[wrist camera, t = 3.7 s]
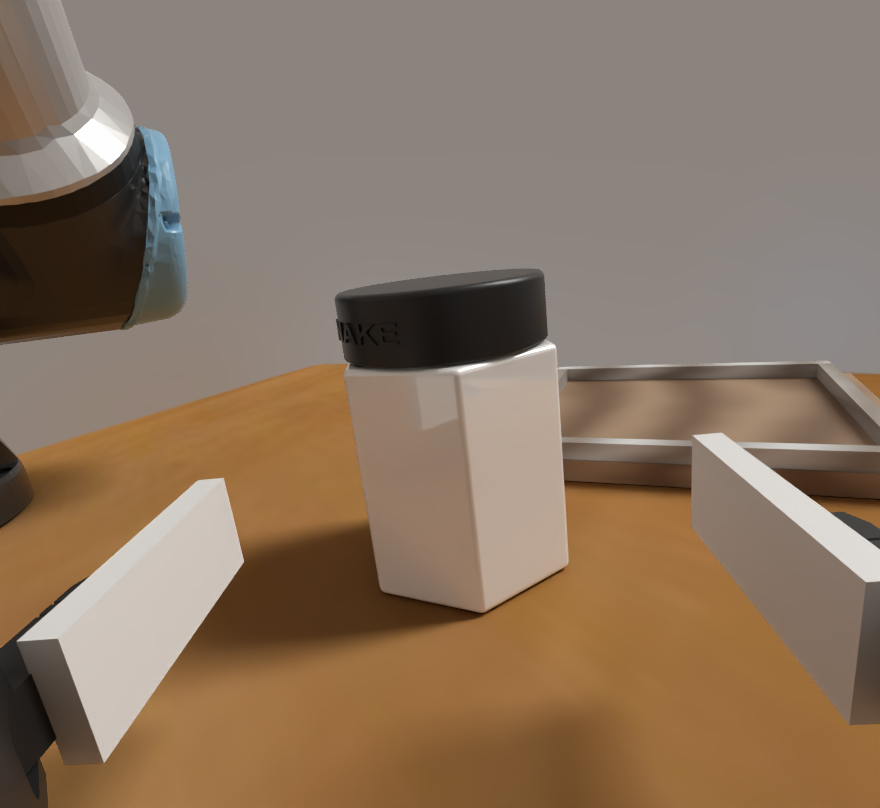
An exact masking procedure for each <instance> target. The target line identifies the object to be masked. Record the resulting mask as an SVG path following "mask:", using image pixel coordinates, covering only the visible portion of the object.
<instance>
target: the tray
mask: <svg viewBox="0 0 880 808" xmlns="http://www.w3.org/2000/svg"><path fill="white" fill-rule="evenodd" d="M558 385H559V402H560V420H561V437H562V455H563V472H564V480H566V481H583V482H600V483H617V484H634V485H651V486H668V487H685V488H692V435H701V434H711V433H723V434H724V435H725V436H727V437H728V438H730V439H731V440H732V441H734V442H735V443H736V444H738V445H739V446H740V447H742V448H743V449H744V450H746V451H747V452H749V453H750V454H751V455H753V456H754V457H755V458H757V459H758V460H759V461H761V462H762V463H763V464H765V465H766V466H767V467H769V468H770V469H772V470H773V471H774V472H776V473H777V474H778V475H780V476H781V477H782V478H784V479H785V480H786V481H788V482H789V483H790V484H792V485H793V486H795V487H796V488H797V489H799V490H800V491H801V492H803V493H804V494H805V495H821V496H838V497H855V498H872V499H880V399H879V398H878V397H876V396H875V395H874V394H873V393H872V392H871V391H870V390H869V389H867V388H866V387H865V386H864V385H863V384H862V383H861V382H860V381H858V380H857V379H856V378H855V377H854V376H853V375H852V374H850V373H841V372H840V371H839V370H838V369H837V368H836V367H835V366H834V365H833V364H831V363H830V362H829V361H799V362H798V361H796V362H756V363H755V362H754V363H710V364H669V365H668V364H667V365H626V366H625V365H624V366H582V367H559V369H558Z"/></svg>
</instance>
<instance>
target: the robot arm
mask: <svg viewBox="0 0 880 808" xmlns="http://www.w3.org/2000/svg"><path fill="white" fill-rule="evenodd" d="M180 219H181V218H180V212H179V200H178V193H177V187H176V181H175V174H174V169H173V164H172V159H171V154H170V150H169V146H168V144H167V141H166V139H165V137H164V136H163V134H161V133H160V132H158V131H155V130H148V129H147V128H144V127H141V126H139V127H136V128H135V124H134V121H133V118H132V114H131V111H130V110H129V108H128V106H127V104H126V103H125V101H124V99H123V98H122V97H121V95H120V94H119V93H118V92H116V91H115V89H113V88H112V87H111V86H110V85H108V84H107V83H105V82H104V81H103V80H101V79H99V78H98V77H96V76H94V75H92V74H90V73H89V72H87V71H85V70H84V67H83V64H82V62H81V59H80V55H79V53H78V50H77V47H76V44H75V41H74V38H73V35H72V32H71V29H70V27H69V24H68V21H67V18H66V15H65V12H64V9H63V6H62V3H61V0H0V345H3V344H11V343H18V342H26V341H33V340H41V339H49V338H57V337H64V336H72V335H80V334H87V333H95V332H103V331H110V330H117V329H122V330H126V329H129V328H132V327H133V326H134V325H138V324H143V323H148V322H153V321H158V320H163V319H168V318H171V317H173V316H175V315H176V314H178V313H179V312H180V311H181V310H182V309H183V307H184V305H185V303H186V301H187V295H188V281H187V265H186V255H185V246H184V238H183V231H182V227H181V224H180ZM33 494H34V493H33V490H32V487H31V484H30V481H29V479H28V476H27V473H26V470H25V468H24V466H23V464H22V462H21V461H20V460H19V459H18V458H17V456H16V455H15V454H14V453H13V452H12V451H11V450H10V448H9V447H8V446H7V445H6V444H5V443H4V442H3V440H2V439H1V438H0V526H1V525H3V524H4V523H6V522H7V521H9V520H10V519H12V518H13V517H15V516H16V515H17V514H18V513H20V512H21V511H22V510H23V509H24V508H25V507H26V506H27V505H28V504H29V503H30V502H31V500H32V498H33ZM691 527H692V528H693V530H694V531H695V532H696V533H697V535H698V536H699V537H700V538H701V540H702V541H703V542H704V543H705V545H706V546H707V547H708V548H709V550H710V551H711V552H712V554H713V555H714V556H715V557H716V559H717V560H718V561H719V562H720V564H721V565H722V566H723V567H724V569H725V570H726V571H727V572H728V574H729V575H730V576H731V577H732V579H733V580H734V581H735V582H736V584H737V585H738V586H739V587H740V589H741V590H742V591H743V592H744V594H745V595H746V596H747V597H748V599H749V600H750V601H751V602H752V604H753V605H754V606H755V607H756V609H757V610H758V611H759V612H760V614H761V615H762V616H763V617H764V619H765V620H766V621H767V623H768V624H769V625H770V626H771V628H772V629H773V630H774V631H775V633H776V634H777V635H778V636H779V638H780V639H781V640H782V641H783V643H784V644H785V645H786V646H787V648H788V649H789V650H790V651H791V653H792V654H793V655H794V656H795V658H796V659H797V660H798V661H799V663H800V664H801V665H802V666H803V668H804V669H805V670H806V671H807V673H808V674H809V675H810V676H811V678H812V679H813V680H814V681H815V683H816V684H817V685H818V686H819V688H820V689H821V690H822V692H823V693H824V694H825V695H826V697H827V698H828V699H829V700H830V702H831V703H832V704H833V705H834V707H835V708H836V709H837V710H838V712H839V713H840V714H841V715H842V717H843V718H844V719H845V720H846V722H847V723H848V724H849V725H862V724H880V529H879V528H877V527H876V526H874V525H873V524H871V523H869V522H867V521H864V520H862V519H859V518H857V517H855V516H852V515H850V514H847V513H845V512H834V513H830V512H828V511H827V510H826V509H824V508H823V507H822V506H820V505H819V504H818V503H816V502H815V501H814V500H812V499H811V498H809V497H808V496H807V495H805V494H804V493H803V492H801V491H800V490H799V489H797V488H796V487H795V486H793V485H792V484H790V483H789V482H788V481H786V480H785V479H784V478H782V477H781V476H780V475H778V474H777V473H776V472H774V471H773V470H772V469H770V468H769V467H767V466H766V465H765V464H763V463H762V462H761V461H759V460H758V459H757V458H755V457H754V456H753V455H751V454H750V453H749V452H747V451H746V450H744V449H743V448H742V447H740V446H739V445H738V444H736V443H735V442H734V441H732V440H731V439H730V438H728V437H727V436H725V435H724V434H723V433H711V434H701V435H692V488H691ZM243 563H244V559H243V555H242V551H241V547H240V543H239V539H238V535H237V530H236V526H235V522H234V518H233V514H232V510H231V506H230V502H229V498H228V494H227V490H226V486H225V482H224V478H218V479H207V480H198V481H197V482H196V483H194V484H193V485H192V486H191V487H190V488H189V489H188V490H187V491H185V492H184V493H183V494H182V495H181V496H180V497H179V498H178V499H176V500H175V501H174V502H173V503H172V504H171V505H170V506H169V507H167V508H166V509H165V510H164V511H163V512H162V513H161V514H159V515H158V516H157V517H156V518H155V519H154V520H153V521H152V522H150V523H149V524H148V525H147V526H146V527H145V528H144V529H143V530H141V531H140V532H139V533H138V534H137V535H136V536H135V537H134V538H132V539H131V540H130V541H129V542H128V543H127V544H126V545H124V546H123V547H122V548H121V549H120V550H119V551H118V552H117V553H115V554H114V555H113V556H112V557H111V558H110V559H109V560H108V561H106V562H105V563H104V564H103V565H102V566H101V567H100V568H99V569H97V570H96V571H95V572H94V573H93V574H92V575H90V576H89V577H87V578H85V579H83V580H82V581H80V582H78V583H77V584H75V585H73V586H72V587H71V588H69V589H68V590H67V591H66V592H65V593H64V594H62V595H61V596H60V597H59V598H58V599H57V600H56V601H54V605H50V606H49V607H48V608H46V609H45V610H44V611H43V612H42V613H41V614H40V617H38V618H35V619H34V620H33V621H32V622H30V623H29V624H28V625H27V626H26V627H25V628H23V629H22V630H21V631H20V632H19V633H18V634H17V635H15V636H14V637H13V638H12V639H11V640H10V641H9V642H7V643H6V644H5V645H4V646H3V647H2V648H1V649H0V808H48V799H47V783H46V773H45V771H44V768H43V766H42V763H41V761H40V757H41V756H42V755H43V754H44V753H45V751H46V750H47V749H48V748H49V747H50V745H51V744H52V743H53V742H54V741H56V743H57V746H58V748H59V751H60V753H61V756H62V758H63V761H64V763H65V765H78V764H98V763H105V761H106V760H107V758H108V757H109V755H110V754H111V753H112V751H113V750H114V748H115V747H116V745H117V744H118V743H119V741H120V740H121V738H122V737H123V735H124V734H125V732H126V731H127V730H128V728H129V727H130V725H131V724H132V722H133V721H134V720H135V718H136V717H137V715H138V714H139V712H140V711H141V709H142V708H143V707H144V705H145V704H146V702H147V701H148V699H149V698H150V697H151V695H152V694H153V692H154V691H155V689H156V688H157V686H158V685H159V684H160V682H161V681H162V679H163V678H164V676H165V675H166V673H167V672H168V671H169V669H170V668H171V666H172V665H173V663H174V662H175V661H176V659H177V658H178V656H179V655H180V653H181V652H182V650H183V649H184V648H185V646H186V645H187V643H188V642H189V640H190V639H191V638H192V636H193V635H194V633H195V632H196V630H197V629H198V627H199V626H200V625H201V623H202V622H203V620H204V619H205V617H206V616H207V614H208V613H209V612H210V610H211V609H212V607H213V606H214V604H215V603H216V602H217V600H218V599H219V597H220V596H221V594H222V593H223V591H224V590H225V589H226V587H227V586H228V584H229V583H230V581H231V580H232V579H233V577H234V576H235V574H236V573H237V571H238V570H239V568H240V567H241V566H242V564H243Z"/></svg>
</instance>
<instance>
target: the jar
mask: <svg viewBox="0 0 880 808" xmlns="http://www.w3.org/2000/svg"><path fill="white" fill-rule="evenodd" d="M545 299H546V298H545V282H544V274H543V272H542V271H541V270H539V269H507V270H492V271H480V272H470V273H461V274H451V275H442V276H433V277H426V278H418V279H410V280H403V281H396V282H390V283H383V284H377V285H371V286H366V287H361V288H355V289H351V290H347V291H344V292H341V293H339V294H337V295H336V297H335V304H336V310H337V316H338V319H336V323H337V329H338V335H339V340H341V341H342V346H343V352H344V358H345V360H346V361H347V362H349V364H348V366H347V368H346V370H345V372H344V379H345V385H346V391H347V397H348V403H349V409H350V414H351V420H352V426H353V432H354V438H355V444H356V453H357V460H358V465H359V470H360V474H361V479H362V485H363V491H364V497H365V503H366V509H367V515H368V521H369V527H370V533H371V539H372V544H373V550H374V556H375V562H376V568H377V574H378V580H379V586H380V589H381V590H382V591H383V592H385V593H389V594H394V595H398V596H403V597H408V598H412V599H417V600H422V601H427V602H431V603H436V604H441V605H445V606H450V607H455V608H460V609H464V610H469V611H474V612H478V613H484V612H487V611H488V610H490V609H492V608H494V607H495V606H497V605H499V604H501V603H503V602H504V601H506V600H508V599H510V598H511V597H513V596H515V595H517V594H519V593H520V592H522V591H524V590H526V589H527V588H529V587H531V586H533V585H534V584H536V583H538V582H540V581H542V580H543V579H545V578H547V577H549V576H550V575H552V574H554V573H556V572H558V571H559V570H561V569H563V568H565V567H566V566H567V565H568V561H569V559H568V542H567V524H566V507H565V489H564V472H563V455H562V437H561V420H560V402H559V385H558V367H557V351H556V346H555V345H554V344H552V343H551V342H549V341H548V340H546V337H547V336H548V331H547V316H546V300H545Z"/></svg>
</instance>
